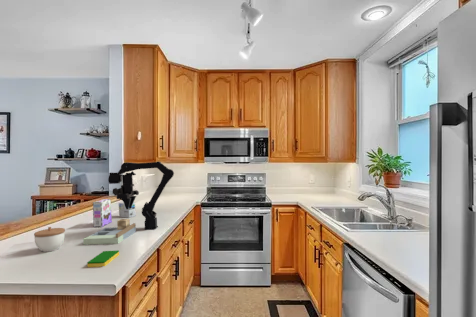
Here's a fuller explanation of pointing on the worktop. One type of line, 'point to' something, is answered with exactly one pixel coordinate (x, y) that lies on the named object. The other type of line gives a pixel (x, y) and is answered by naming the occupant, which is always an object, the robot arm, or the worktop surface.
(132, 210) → the light bulb box
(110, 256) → the dish sponge
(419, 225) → the worktop surface
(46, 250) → the lidded bowl
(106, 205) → the candy box
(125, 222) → the oak block
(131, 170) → the robot arm
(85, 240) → the board
